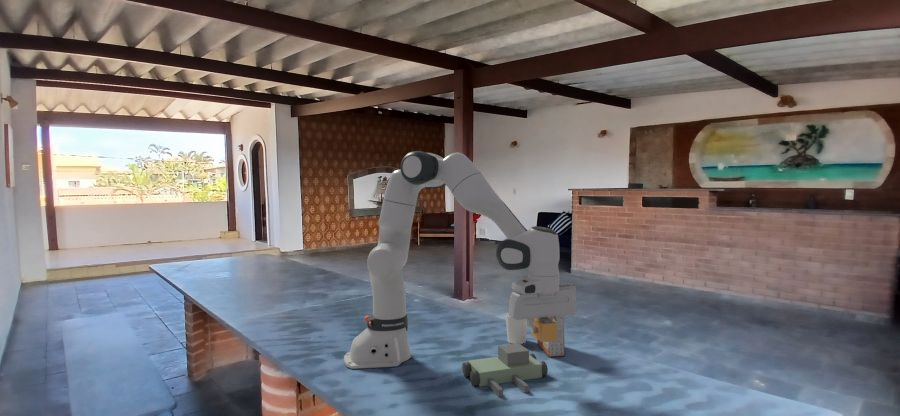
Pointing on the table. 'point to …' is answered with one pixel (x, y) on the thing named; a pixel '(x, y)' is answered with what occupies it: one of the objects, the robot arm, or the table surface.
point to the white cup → (516, 330)
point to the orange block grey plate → (545, 329)
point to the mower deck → (505, 368)
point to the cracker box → (555, 346)
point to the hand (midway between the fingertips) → (543, 331)
